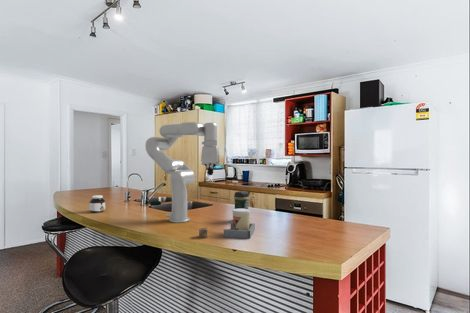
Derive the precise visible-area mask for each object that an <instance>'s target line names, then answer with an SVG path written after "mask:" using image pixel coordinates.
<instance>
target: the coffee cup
mask: <svg viewBox="0 0 470 313" xmlns="http://www.w3.org/2000/svg"><path fill="white" fill-rule="evenodd" d="M250 219H251V209H249V208H248V209H243V208H239V209H235V208H233V209H232V223H233V225H234V229H233V230H246V231H248V230H249V223H250V221H251V220H250Z"/></svg>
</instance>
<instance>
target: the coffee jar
mask: <svg viewBox="0 0 470 313" xmlns="http://www.w3.org/2000/svg"><path fill="white" fill-rule="evenodd" d="M233 198H234V209H239V208H243V209H249V200H250V193H249V192H248V191H247V190H239V191H235V192H234V195H233Z"/></svg>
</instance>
